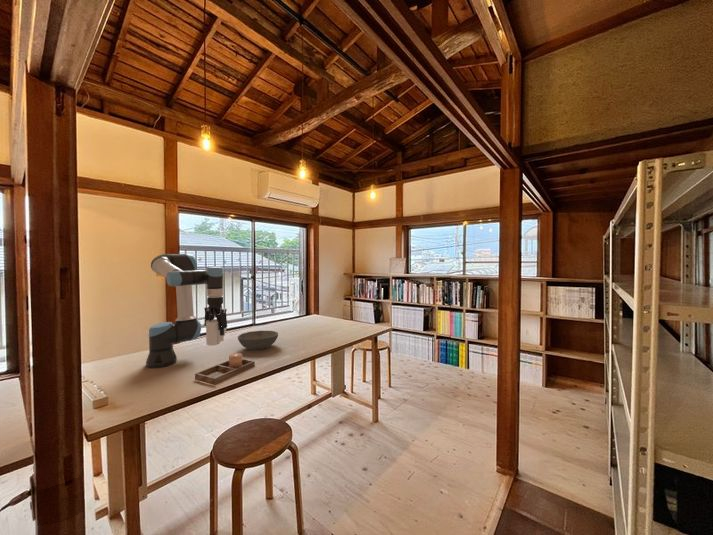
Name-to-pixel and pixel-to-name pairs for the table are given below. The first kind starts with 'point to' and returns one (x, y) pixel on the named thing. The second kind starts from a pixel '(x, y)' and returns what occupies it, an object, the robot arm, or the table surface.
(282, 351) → the table surface
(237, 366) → the brown egg
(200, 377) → the divided wooden tray
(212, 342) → the mug
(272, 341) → the bowl
